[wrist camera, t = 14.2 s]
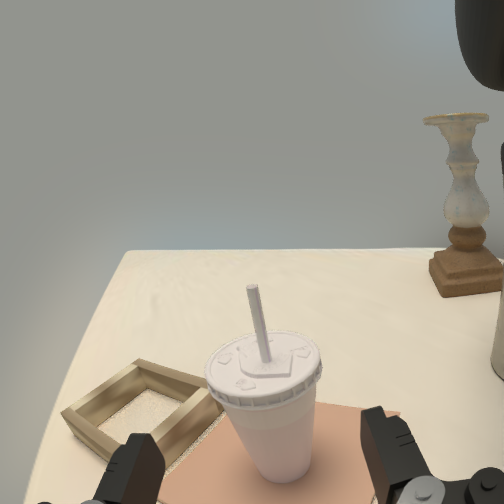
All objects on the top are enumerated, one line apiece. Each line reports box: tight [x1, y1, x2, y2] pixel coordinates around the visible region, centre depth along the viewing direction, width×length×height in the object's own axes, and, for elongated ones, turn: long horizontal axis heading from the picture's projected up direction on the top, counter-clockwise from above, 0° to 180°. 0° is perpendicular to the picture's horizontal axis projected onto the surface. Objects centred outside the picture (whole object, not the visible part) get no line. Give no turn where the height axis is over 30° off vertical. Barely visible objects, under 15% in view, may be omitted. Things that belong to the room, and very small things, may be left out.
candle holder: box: [423, 113, 503, 297], centre depth 38 cm, size 11×11×24 cm
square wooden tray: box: [61, 358, 224, 469], centre depth 26 cm, size 11×11×3 cm
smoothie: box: [204, 284, 323, 483], centre depth 17 cm, size 6×6×14 cm
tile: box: [157, 402, 400, 504], centre depth 19 cm, size 14×14×1 cm
